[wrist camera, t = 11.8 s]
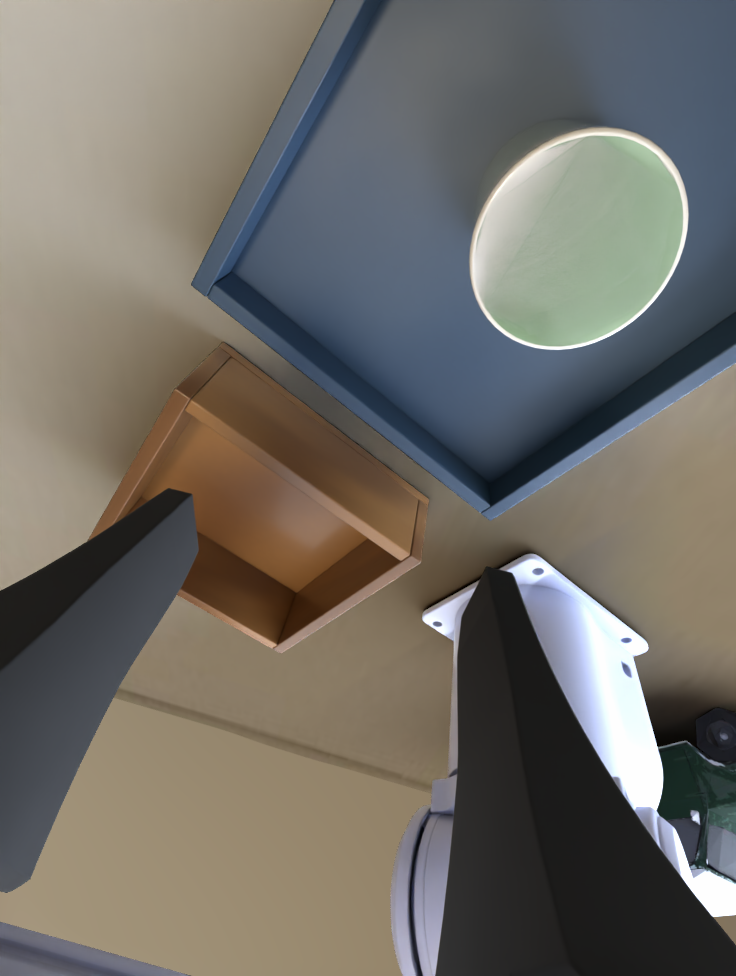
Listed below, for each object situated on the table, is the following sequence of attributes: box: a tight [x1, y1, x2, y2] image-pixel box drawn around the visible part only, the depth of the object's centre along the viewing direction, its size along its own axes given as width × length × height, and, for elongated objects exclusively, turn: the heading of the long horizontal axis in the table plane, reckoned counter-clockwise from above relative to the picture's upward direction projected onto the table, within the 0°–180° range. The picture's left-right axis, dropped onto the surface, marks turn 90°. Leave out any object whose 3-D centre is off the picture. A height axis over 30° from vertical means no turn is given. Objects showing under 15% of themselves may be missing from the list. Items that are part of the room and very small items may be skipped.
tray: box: [191, 0, 736, 520], centre depth 13 cm, size 14×17×2 cm
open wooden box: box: [88, 342, 429, 653], centre depth 22 cm, size 11×11×4 cm
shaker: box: [469, 119, 689, 350], centre depth 12 cm, size 4×4×6 cm
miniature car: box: [656, 707, 736, 916], centre depth 30 cm, size 9×18×8 cm, turn 143°
